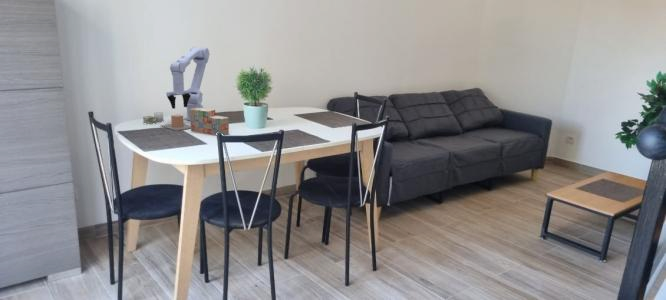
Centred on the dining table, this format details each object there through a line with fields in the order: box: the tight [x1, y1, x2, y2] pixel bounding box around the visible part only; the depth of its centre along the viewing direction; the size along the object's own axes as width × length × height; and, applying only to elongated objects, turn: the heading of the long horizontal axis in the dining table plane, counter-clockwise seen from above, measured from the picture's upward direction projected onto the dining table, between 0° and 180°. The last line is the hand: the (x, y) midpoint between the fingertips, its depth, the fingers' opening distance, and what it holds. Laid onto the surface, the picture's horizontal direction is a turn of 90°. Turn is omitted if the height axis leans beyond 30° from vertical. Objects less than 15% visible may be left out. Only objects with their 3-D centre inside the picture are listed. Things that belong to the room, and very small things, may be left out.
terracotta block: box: [170, 114, 185, 127], centre depth 266 cm, size 4×4×6 cm
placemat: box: [160, 123, 191, 132], centre depth 267 cm, size 12×16×1 cm
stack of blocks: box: [190, 107, 230, 136], centre depth 255 cm, size 21×6×12 cm, turn 62°
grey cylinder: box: [153, 111, 165, 123], centre depth 280 cm, size 5×5×5 cm
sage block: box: [142, 115, 157, 125], centre depth 274 cm, size 5×5×4 cm
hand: (179, 107), depth 274 cm, fingers open, 7 cm apart
